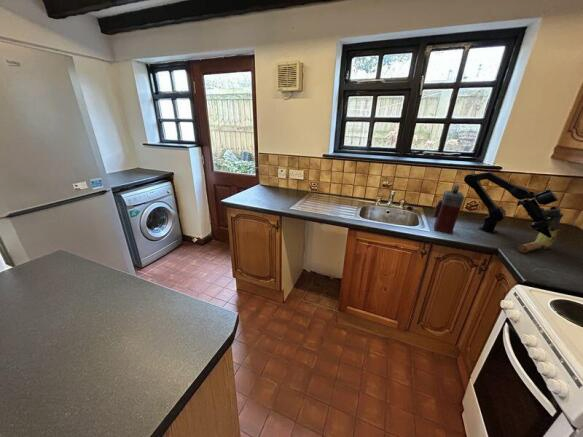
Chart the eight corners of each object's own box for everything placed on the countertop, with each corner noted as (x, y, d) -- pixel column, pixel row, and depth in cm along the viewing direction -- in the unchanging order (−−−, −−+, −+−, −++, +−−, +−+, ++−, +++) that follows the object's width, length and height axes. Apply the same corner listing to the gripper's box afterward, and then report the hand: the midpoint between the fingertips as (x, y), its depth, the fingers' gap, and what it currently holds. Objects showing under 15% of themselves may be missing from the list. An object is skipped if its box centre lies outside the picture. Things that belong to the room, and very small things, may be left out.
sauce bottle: (549, 251, 128) (568, 216, 120) (533, 247, 131) (551, 213, 123) (547, 246, 132) (565, 212, 124) (532, 242, 136) (549, 209, 128)
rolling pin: (523, 254, 123) (526, 248, 122) (514, 250, 127) (517, 244, 125) (541, 249, 129) (545, 243, 127) (532, 246, 132) (535, 239, 130)
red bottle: (429, 224, 153) (442, 181, 142) (450, 228, 149) (465, 184, 137) (430, 230, 146) (443, 185, 135) (451, 234, 141) (467, 188, 130)
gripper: (550, 206, 119) (571, 234, 116) (554, 198, 130) (574, 224, 127) (522, 215, 127) (541, 242, 124) (529, 207, 138) (546, 232, 135)
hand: (551, 234), depth 127 cm, fingers open, 9 cm apart
